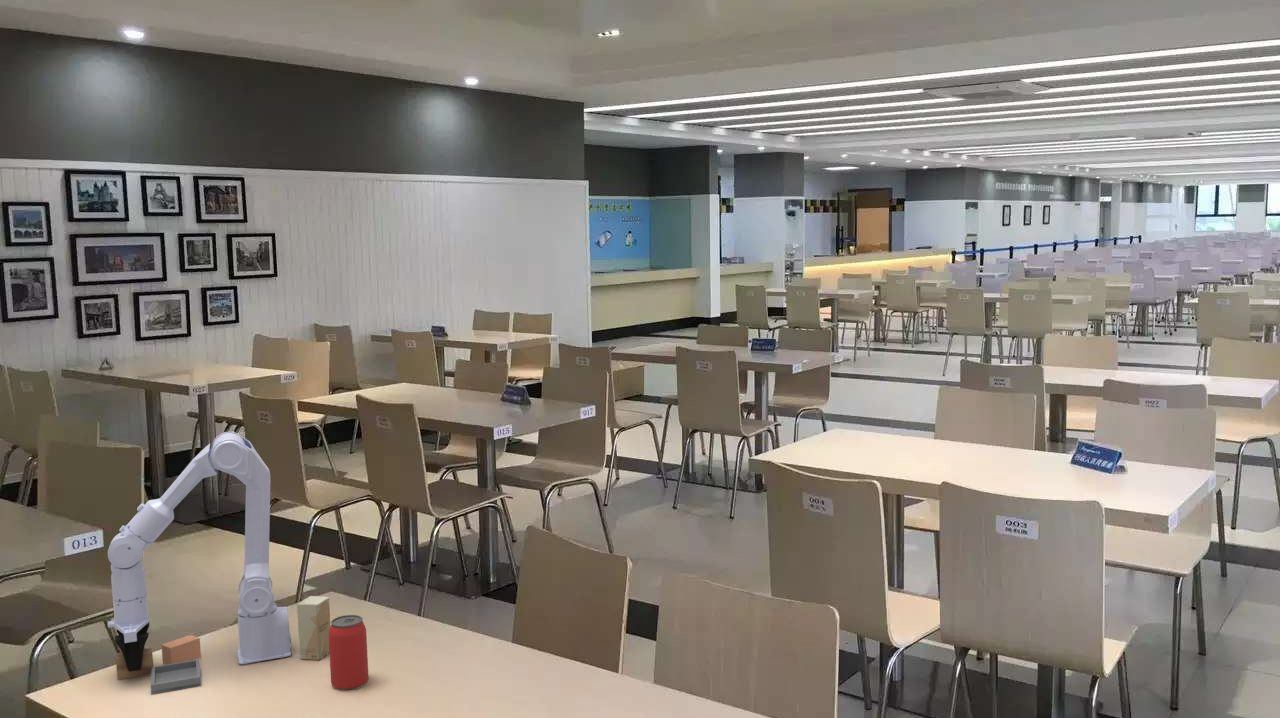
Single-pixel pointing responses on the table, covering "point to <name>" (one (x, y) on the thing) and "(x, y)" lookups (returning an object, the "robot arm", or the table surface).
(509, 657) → the table surface
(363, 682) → the beer can
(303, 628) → the box
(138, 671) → the walnut brick
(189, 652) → the terracotta brick
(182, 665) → the tray
